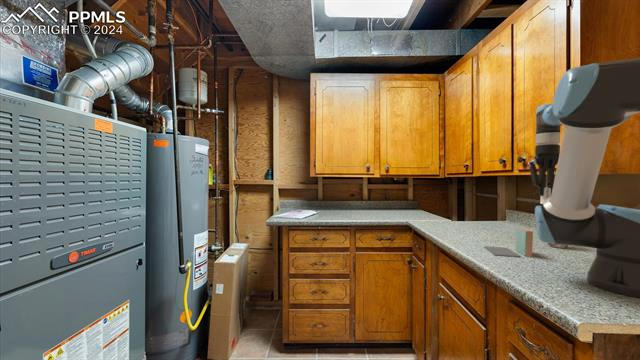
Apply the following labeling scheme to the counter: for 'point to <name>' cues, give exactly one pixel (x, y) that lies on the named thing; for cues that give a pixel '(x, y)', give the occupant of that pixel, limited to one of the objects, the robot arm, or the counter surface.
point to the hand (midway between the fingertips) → (545, 203)
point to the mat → (502, 251)
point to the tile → (524, 241)
